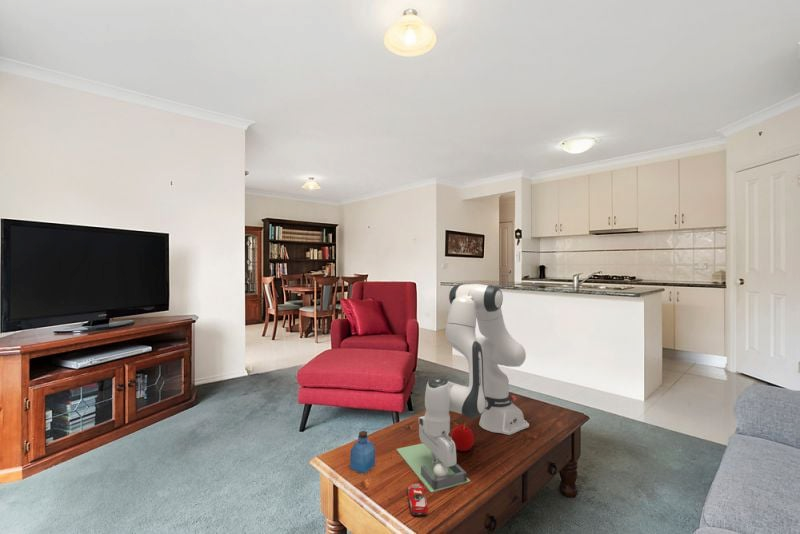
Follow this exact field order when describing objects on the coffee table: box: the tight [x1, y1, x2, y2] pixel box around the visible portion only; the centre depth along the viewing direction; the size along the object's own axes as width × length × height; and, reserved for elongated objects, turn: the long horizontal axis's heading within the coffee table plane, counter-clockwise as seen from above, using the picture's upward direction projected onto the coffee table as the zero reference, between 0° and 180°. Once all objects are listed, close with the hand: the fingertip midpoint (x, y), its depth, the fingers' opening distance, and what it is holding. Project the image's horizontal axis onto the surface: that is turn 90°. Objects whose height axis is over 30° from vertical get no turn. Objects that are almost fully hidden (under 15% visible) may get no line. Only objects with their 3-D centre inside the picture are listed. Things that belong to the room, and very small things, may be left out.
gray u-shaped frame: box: [421, 462, 468, 490], centre depth 118 cm, size 12×9×3 cm
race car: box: [406, 482, 429, 517], centre depth 106 cm, size 13×5×4 cm, turn 3°
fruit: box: [450, 423, 475, 452], centre depth 138 cm, size 9×9×10 cm
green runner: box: [395, 442, 471, 494], centre depth 126 cm, size 15×28×1 cm, turn 24°
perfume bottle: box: [349, 430, 376, 475], centre depth 124 cm, size 6×6×12 cm
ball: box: [433, 463, 448, 478], centre depth 117 cm, size 5×5×5 cm
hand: (436, 465), depth 122 cm, fingers closed
